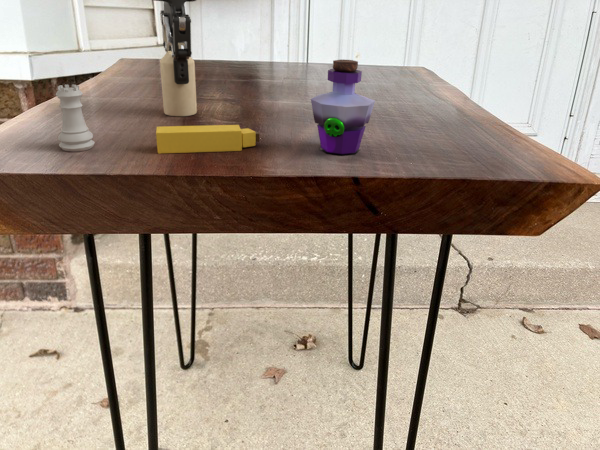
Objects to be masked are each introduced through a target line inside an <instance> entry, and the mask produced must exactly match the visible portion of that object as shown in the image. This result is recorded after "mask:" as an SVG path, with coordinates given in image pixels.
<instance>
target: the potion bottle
mask: <svg viewBox="0 0 600 450" xmlns="http://www.w3.org/2000/svg"><path fill="white" fill-rule="evenodd" d="M358 66H359V61H358V60H353V59H335V60H332V68H330V69H328V70H327V81H328V82H332V91H329V92H325V93H319V94H317V95H316V96H314V97H311V98H310V104H311V109H312V114H313V119H314V124H317V125H316V126H317V133H318V138H319V143H320V148H319V151H321V152H323V153H325V154H326V155H333V156H339V157H340V156H342V157H344V156H351V155H352V156H354V155H356V154H358V153H359V152H360V147H361V143H362V140H363V137H364V132H365V130H366V124H369V123H370V122H369V121H370V119H371V115H372V112H373V110H374V106H375V103H376V100H375V99H372V98H370V97H367V96H364V95H362V94H359V93H355V91H356V84H359V83H360V82H362V74H363V71H362V70H359V69H358Z"/></svg>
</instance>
